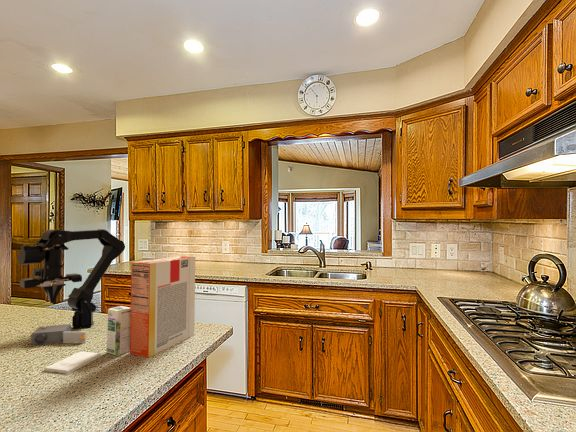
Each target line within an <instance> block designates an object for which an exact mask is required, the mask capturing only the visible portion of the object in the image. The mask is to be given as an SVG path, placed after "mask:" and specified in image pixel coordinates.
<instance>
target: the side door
mask: <svg viewBox="0 0 576 432" xmlns="http://www.w3.org/2000/svg"><path fill="white" fill-rule="evenodd" d="M86 342H87V331H71V332H65V331H62V332H61V342H60V343H86Z"/></svg>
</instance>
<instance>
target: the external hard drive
mask: <svg viewBox="0 0 576 432" xmlns="http://www.w3.org/2000/svg"><path fill="white" fill-rule="evenodd" d="M101 357H102V354H101V353H100V352H99V353H98V352H90V351H81V350H80V351H77V352H76V353H74V354H71V355H69V356H68V357H64V358H63V359H61V360H59V361H57V362H55V363H53V364H51V365H47V366H46V367H44V368H43V371H44V372H49V373H50V372H51V373H58V374H65V375H68V374H70V373H72V372H74V371H76V370H78V369H80V368H82V367H83V366H85V365H87V364H89V363H91V362H93V361H95V360H97V359H99V358H101Z"/></svg>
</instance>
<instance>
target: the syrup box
mask: <svg viewBox="0 0 576 432" xmlns="http://www.w3.org/2000/svg"><path fill="white" fill-rule="evenodd" d="M130 315H131V307H130V306H129V307H128V306H124V305H119V306H114V307H111V308H108V309H107V328H106V329H107V331H106V354H110V355H114V356H115V357H116V356H117V357H118V356H120V355H122V354H126V353H128V352H130Z"/></svg>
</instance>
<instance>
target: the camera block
mask: <svg viewBox="0 0 576 432" xmlns="http://www.w3.org/2000/svg"><path fill="white" fill-rule="evenodd" d="M62 331H65V332H72V324H70V323H69V324H59V325H58V324H57V325H56V324H55V325H41V326H39V327H38V328H36V329H35V330H34V331H32V332H30V333H31V334H30V346H36V345H44V344H55V343H56V344H58V343H62V342H61V332H62Z"/></svg>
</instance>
